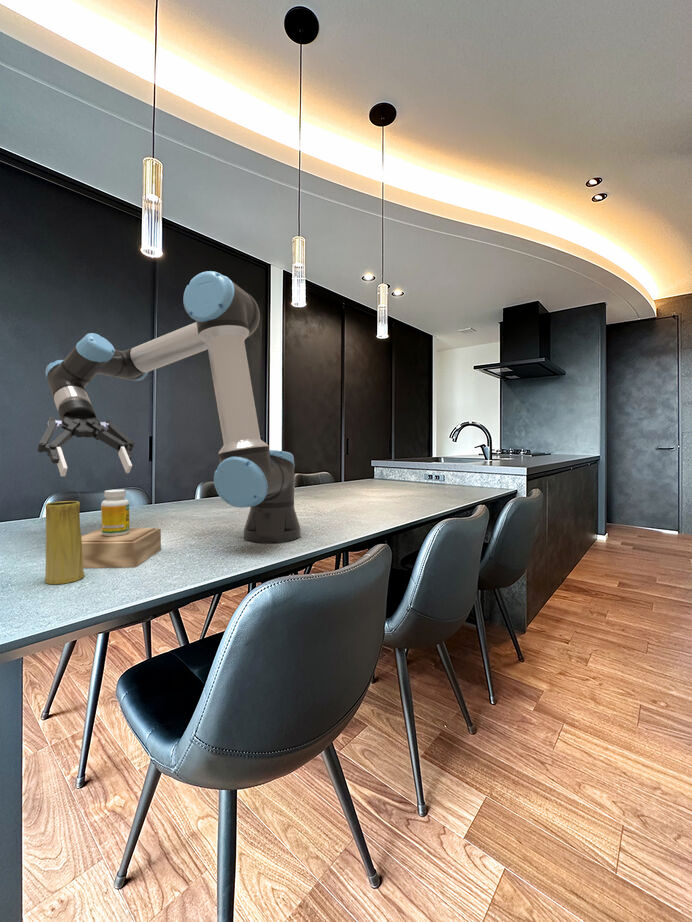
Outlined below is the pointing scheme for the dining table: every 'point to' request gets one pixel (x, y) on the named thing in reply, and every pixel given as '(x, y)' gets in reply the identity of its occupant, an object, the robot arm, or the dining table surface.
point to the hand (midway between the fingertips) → (98, 471)
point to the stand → (120, 548)
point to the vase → (63, 543)
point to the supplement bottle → (115, 513)
